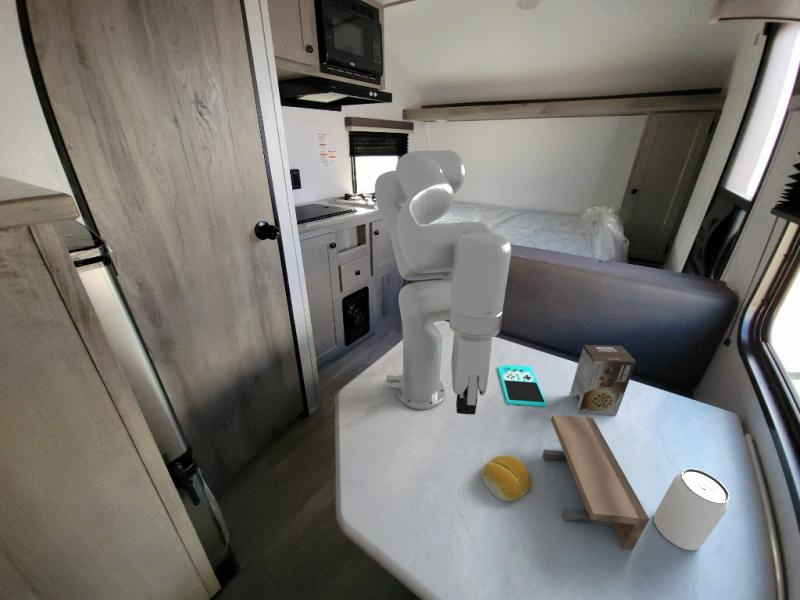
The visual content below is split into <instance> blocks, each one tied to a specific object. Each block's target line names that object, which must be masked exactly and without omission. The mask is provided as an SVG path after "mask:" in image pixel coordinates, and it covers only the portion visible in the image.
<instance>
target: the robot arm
mask: <svg viewBox="0 0 800 600" xmlns="http://www.w3.org/2000/svg"><path fill="white" fill-rule="evenodd" d="M465 177H466V167H465V163H464V160H463V159H462V157H461V156H460V155H459V153H457V152H455V151H454V150H413V151H410V152H407V153H405V154H403V156H401V157H400V158H399V160H398V161H397V163H396V167H395V170H389V171H386V172H382V173H381V174H380V175H379V176H378V177H377V178H376V180H375V183H374V195H375V196H374V197H375V202H376V207H377V210H378V212H379V215H380V218H382V221H383V222H384V224H385V226H386V228H387V230H388V233H389V234H390V238H391V243H392V247H393V253H394V257H395V262H396V266H397V270H398V272H399V275H400V276H401V278H403V279H404V280H407V281H414V282H412V283H411V282H410V283H408V284H406V285H404V286H403V287H402V288H401V289H400V291H399V294H398V305H399V311H400V318H401V326H402V374H398V375H393V374H391V375H390V374H387V375H386V381H385V382H386V383H389V388H390V389H396V393H397V398H398V399H399V401H400V402H401V403H402V404H403V405H405V406H407V407H409V408H411V409H413V410H414V409H415V410H422V411H424V410H431V409H433V408H436V407H437V406H439V405H441V403H442V402H443V401H444V399H445V394H446V389H445V386H444V384H443V383H442V382H441V381H440V380H441V364H442V351H443V350H442V348H443V346H442V345H443V337H442V333H441V330H440V329H439V328H438V327H437V326H436V324H434V323H437V322H442V321H443V322H444V321H449V322H448V326H449V328H450V330H451V331H452V332H453V338H452V339H453V340H452V352H451V364H450V366H451V367H450V368H451V384H452V385H451V387H452V391H453V392H454V394H455V395H456V403H455V407H456V414H458V415H459V414H460V415H461V414H462V415H472V416H473V415H476V412H477V403H478V394H479V395H481V397H482V396H484V395H485V394H486V391H487V388H488V387H487V386H488V382H489V381H488V380H489V372H490V365H491V364H490V363H491V352H492V342H493V341H492V340H493V338H494V337H496V336H497V335H498V334H499V333H500V332H501V331H500V330H501V325H502V319H503V312H504V311H503V310H504V303H505V298H506V297H505V296H506V291H507V290H506V289H507V282H508V276H509V269H510V264H511V263H510V262H511V255H512V245H511V242H510V240H508V239H507V238H506V237H504V236H502V235H500V234H496V233H495V232H494V230H492V228H491V227H489V225H487V224H486V223H483V222H480V221H464V222H463V221H462V222H459V221H458V222H443V223H442V222H441V223H439V222H438V223H434V222H436V221H437V220H439V219H440V218H442V217H444V216H445V214H447V213H448V211H449V210H450V209H451V207H452V205H453V202H454V195H455V194H456V193H457V192H458V191H460V190H461V188H462V186H463V185H464V181H465Z"/></svg>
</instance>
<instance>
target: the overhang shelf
mask: <svg viewBox="0 0 800 600" xmlns="http://www.w3.org/2000/svg"><path fill="white" fill-rule="evenodd" d="M550 421H551V424H552V427H553V429H554V431H555V434H556V436H557V439H558V442H559V443H560V446H561V449H562V450H554V449H543V452H542V455H541V457H542V460H543V461H547V462H556V463H557V462H558V463H567V464H568V466H569V469H570V472H571V474H572V477H573V479H574V481H575V484H576V486H577V489H578V491H579V495H580V496H581V499H582V501H583V503H584V506H585V508H586V509H578V508H577V509H576V508H566V507H564V508H563V510H562V513H561V517H562V521H563V522H571V523H578V524H579V523H580V524H589V525H597V526H606V527H611V528H612V529H613V532H614V534H615V536H616V538H617V540H618V543H619V545H620V548H621V550H626V551H627V550H628V551H633V550H634V548H635V546H636V544H637V542H638V541H639V540H640V537H641V536H642V533H643V532H644V530H645V528H646V527H647V525H648V523H649V522H650V517H649V515H648V514H647V512H646V510H645V508H644V507H643V505H642V503H641V501H640V499H639V498H638V496H637V494H636V491H634V489H633V487H632V486H631V484H630V482H629V480H628V478H627V476H626V475H625V473H624V471H623V469H622V468H621V467H622V466H621V465H620V464H619V462H618V460H617V459H616V458H617V457H616V456H615V455H614V453H613V451H612V450H611V447H610V446H609V444H608V442H607V440H606V439H605V437H604V435H603V433H602V432H601V429H600V427H599V426H598V425H597V423H596V421H595V418H594V417H587V416H585V417H584V416H576V415H575V416H574V415H561V414H552V416H551V418H550Z"/></svg>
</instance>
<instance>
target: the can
mask: <svg viewBox="0 0 800 600" xmlns="http://www.w3.org/2000/svg"><path fill="white" fill-rule="evenodd" d="M729 500H730V493H729V491H728V489H727V488H726V486H725V485H724V484H723V483H722V482H721V481H720V480H718V478H716V477H715V476H713V475H711V474H709V473H708V472H705V471H703V470H700V469H697V468H693V467H691V468H690V467H689V468H685V469H683V470H682V471H681V472H679V473H678V474H676V475H675V476H674V478H673V480H672V482H671V483H670V485H669V486H668V488H667V490H666V492H665V494H664V496H663V497H662V499H661V501H660V503H659V504H658V507H657V508H656V510H655V512H654V515H653V521H654V524H655V526H656V528H657V530H658V531H659V532H660V534H661V535H662V536H663V537H664V538H665V539H666V540H668V542H670V543H671V544H673V545H674V546H676V547H678V548H680V549H682V550H687V551H697V550H699V549H700V548H701V547H702V546H703V544H704V543H705V542H706V540H707V539H709V537H710V535H711V534H712V533H713V531H714V530H715V528H716V527H717V525H718V524H719V523H720V522H721V520H722V518H723V517H724V516H725V514H726V513H727V511H728V509H729V506H730V505H729V503H730V502H729Z"/></svg>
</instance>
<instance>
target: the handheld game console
mask: <svg viewBox="0 0 800 600" xmlns="http://www.w3.org/2000/svg"><path fill="white" fill-rule="evenodd" d="M497 371H498V376H499V378H500V382H501V386H502V390H503V394H504V397H505V402H506V404H507V405H512V406H514V405H515V406H519V407H520V406H524V407H525V406H528V407H536V408H537V407H539V408H540V407H541V408H547V407H548V403H547V401H546V399H545V396H544V394H543V392H542V388H541V387H540V384H539V382H538V379H537V377H536V375H535V372H534V369H533V367H532V366H530V365H516V364H503V365H500V366H499V367H498V370H497Z"/></svg>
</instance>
